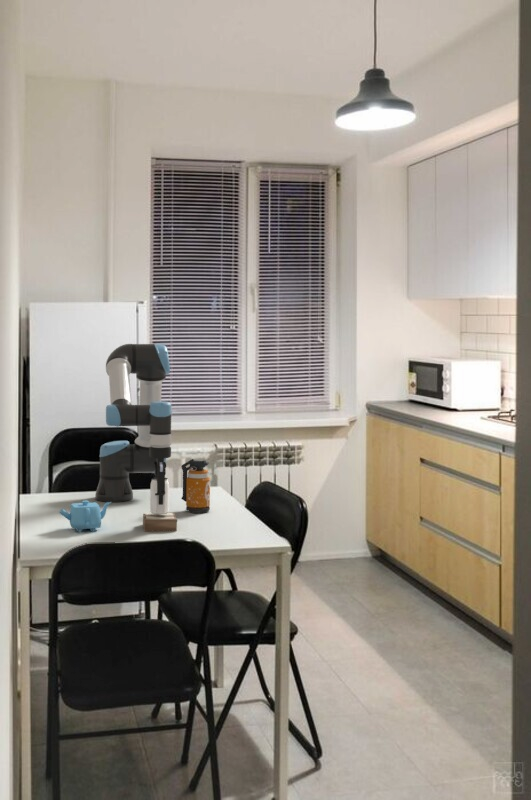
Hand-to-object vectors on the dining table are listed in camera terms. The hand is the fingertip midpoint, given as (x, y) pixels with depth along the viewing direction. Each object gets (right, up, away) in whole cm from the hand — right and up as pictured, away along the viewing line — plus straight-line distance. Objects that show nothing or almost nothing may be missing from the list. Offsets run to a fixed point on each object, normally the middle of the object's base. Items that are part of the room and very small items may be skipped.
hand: (159, 511), depth 316 cm
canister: (+10, -4, +30) cm, 32 cm away
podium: (0, -6, 0) cm, 6 cm away
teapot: (-25, -6, -3) cm, 26 cm away
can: (0, -1, 0) cm, 1 cm away
